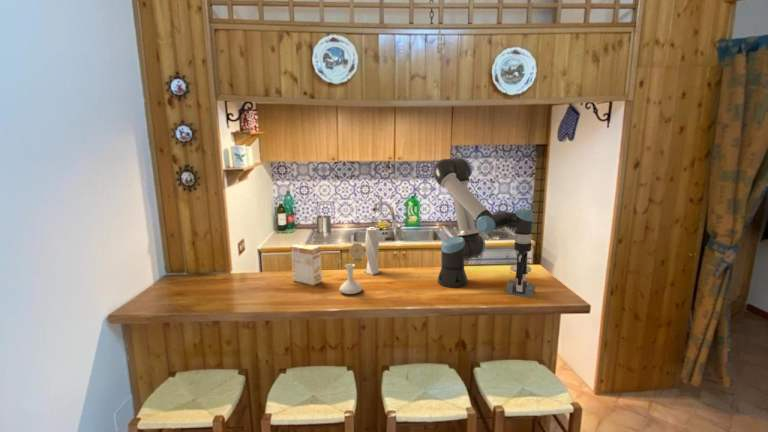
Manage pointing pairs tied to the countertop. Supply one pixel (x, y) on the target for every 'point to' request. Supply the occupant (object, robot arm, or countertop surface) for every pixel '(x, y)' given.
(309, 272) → the coffeecake box
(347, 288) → the flower in vase
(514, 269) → the bobbin
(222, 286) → the countertop surface
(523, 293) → the tan and grey block
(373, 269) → the skyscraper
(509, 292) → the notch board
